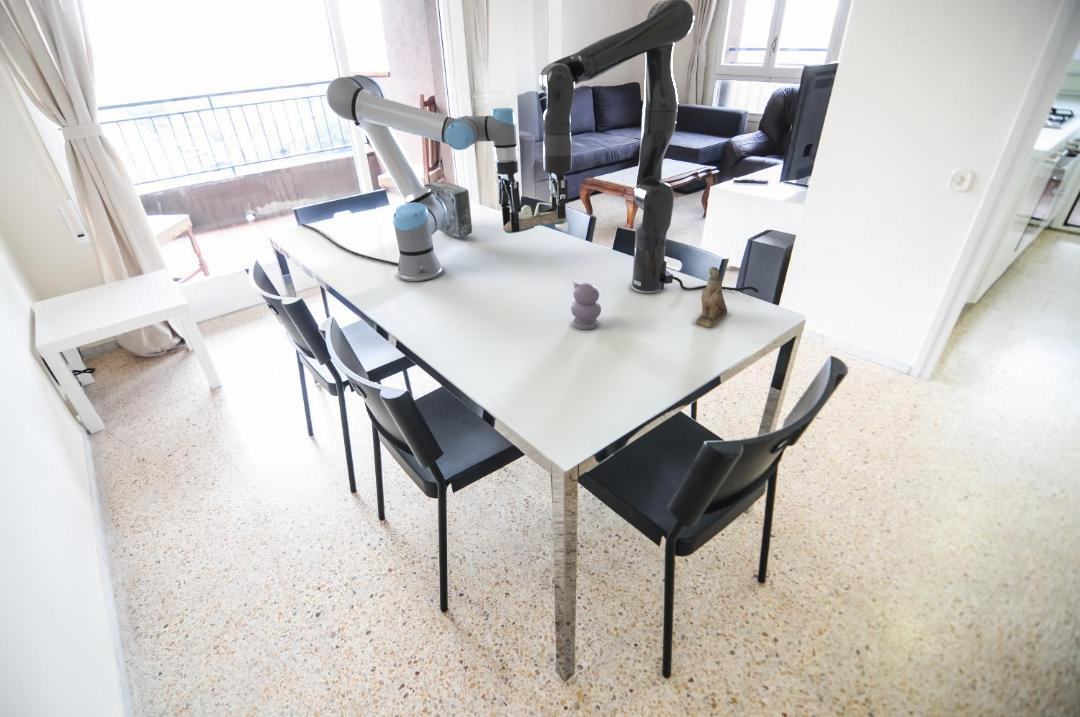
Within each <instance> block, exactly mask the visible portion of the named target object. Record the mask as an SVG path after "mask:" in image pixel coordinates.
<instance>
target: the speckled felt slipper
mask: <svg viewBox="0 0 1080 717" xmlns="http://www.w3.org/2000/svg"><path fill="white" fill-rule="evenodd" d="M540 205H544V206H547V207H549V208H547V209H544V210H541V211H539V206H540ZM567 214H568V213H566V217H565V218H563V219H558V217H557V210H556V211H553V210H552V204H551V203H549V202H548V203H547V202H537V204H536V207H535V209H534V212H533V211H532V208H531V206H530V205H527V204H524V205H523V206H521V212H519V229H520V231H519V232H513V233H512V230H511V220H510V221H509V222H508V223H507V224H506V225H505V226H503V227H502V231H504V233H506V234H516V233H517V234H518V233H522V232H526V231H528V230H532V229H534V228H535V227H538V226H540V227H541V226H555V225H556V226H557V225H564V224H566V221H567V219H568V215H567Z"/></svg>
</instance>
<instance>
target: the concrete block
mask: <svg viewBox="0 0 1080 717" xmlns="http://www.w3.org/2000/svg"><path fill="white" fill-rule="evenodd" d="M423 185H424V187H426V188H429V189H431V191H432V193H433V195H434V196H435V197H437V198H439V199H440V200H441V201H442V202H443V203H444V205H445V207H446V210H447V218H446V221H445V223H444V224H443V226H442V227H441V228H440V229H439V230H438V231H441V232H443V233H444V234H446V235H448V236H449V237H452V238H464V237H465V236H468V235H471V234H472V233H473V223H472V214H471V203H470V193H469V189H467V188H465V187H463V186H460V185H458V184H454V183H452V182H447V181H440V180H439V181H431V182H428V183H427V182H426V183H425V184H423Z"/></svg>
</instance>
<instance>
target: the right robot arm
mask: <svg viewBox="0 0 1080 717" xmlns="http://www.w3.org/2000/svg"><path fill="white" fill-rule="evenodd" d="M694 20H695V13H694V8H693V7H692V5H691V3H690V2H688V1H687V0H660V1H657V2H656V3H654V4H653V5H652V6H651V7H650V9H649V10H648V13H647V15H646V18H645V20H643V21H642V22H640V23H638V24H635V25H634V26H632V27H629V28H626V29H624V30H621V31H618V32H616V33H613V34H611V35H607V36H605V37H604V38H600V39H599V40H597V41H595V42H593V43H590V44H589V45H587V46H585V47H583V48H581V49H580V50H577V52H575V53H572V54H569V55H566V56H565V57H562V58H560V59H557V60H554V61H552V62H550V63H548V64H547V65H545V67H543V69H541V72H540V73H539V77H538V79H539V80H538V84H539V87H540V89H541V90H542V91H543V93H544V94H546V109H545V110H544V111H543V116H542V117H543V118H542V120H543V122H542V123H543V124H542V125H543V126H542V128H543V138H542V139H543V140H542V157H543V158H542V159H543V161H542V162H543V171H544V172H545V173H548V182H549V183H548V186H549V189H548V192H549V196H550V197H551V199H550V201H551V203H550V204H552V206H551V208H552V210H553V211H556V210H557V217H558V219H563V218H565V217H566V214H567V212H566V205H567V204H568V203H569V199H568V198H569V197H568V191H569V190H568V179H567V178H565V173H569V172H571V171H572V169H573V140H572V122H571V121H572V118H571V115H572V114H571V113H572V108H573V102H574V95H575V85H578V84H580V83H583V82H589V81H591V80H594V79H595V78H598V77H600V76H602V75H604V74H606V73H607V72H610V71H611V70H613V69H615V68H617V67H618V66H620V65H622V64H624V63H626V62H628V61H631V60H632V59H634V58H637V57H638V56H640V55H643V54H644V55H645V67H644V68H645V69H644V83H643V99H642V106H641V107H642V110H641V123H640V140H639V141H640V142H639V155H638V156H639V158H638V166H637V171H636V172H637V173H636V178H635V184H634V191H633V198H634V199H633V200H634V202H635V205H636V206H637V207H638V208H639V209H641V210H642V211H643V212H642V220H641V223H639V224H637V225H636V227H635V235H634V236H635V237H634V250H633V251H634V252H633V265H632V266H633V268H632V280H631V289H632V290H633V291H634V292H636V293H639V294H645V295H650V294H657V293H659V292H661V291H662V290H665V285H667V284H673V280H675V281H677V282H678V283H679V286H680V288H681V289H683V290H684V291H697V290H702V289H704V288H705V287H707V284H705V285H699V286H695V287H686V286H684V283H683V281H682V279H680V278H679V277H678V276H677V277H676V276H674V274H673V273H671V272H670V271H669V270H668V269H667V262H668V261H667V260H666V259H665V254H666V245H667V234H668V231H669V228H670V227H671V224H672V218H673V211H674V202H675V194H674V189H673V188H672V186H671V185H670V184H669V183H667V182H664V181H663V179H662V176H663V175H662V173H663V163H664V158H665V154H666V152H667V150H668V148H669V145H670V144H671V142H672V139H673V137H674V134H675V131H676V127H677V125H676V124H677V117H678V116H677V115H678V104H679V102H678V100H679V99H678V93H677V88H676V83H675V80H674V73H673V54H674V46H675V44H676V43H679V42H681V41H683V40H684V39H685V38H686V37H687V36H688V35H689V33H690V32H691V31H692V28H693V25H694ZM561 197H562V198H561ZM721 289H722V290H725V291H733V292H734V291H735V292H740V291H745V290H746V291H747V290H752V291H754V292H755V293H759V292H760V291H759V289H757V288H756V287H755V286H752V285H749V286H748V285H747V286H742V287H731V286H723V285H722V288H721ZM726 289H727V290H726Z"/></svg>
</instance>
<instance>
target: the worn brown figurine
mask: <svg viewBox="0 0 1080 717" xmlns="http://www.w3.org/2000/svg"><path fill="white" fill-rule="evenodd" d="M708 273H709V275H710V276H709V278H708V279H707V280H708V281H707V284H706V285H707V287H705V288H702V289H703V290H702V292H701V297H700V298H701V309H702V312H701V315H700V316H699V317H698V318H697V319H696V321H695V324H696V325H699V326H703V327H705V328H712V327H714V326H715V325H716V324H717V323H719V321H721V320H722V319H723V318H725V317H726V316H727V315H728V307H727V304H726V301H725V298H724V293H723V289H721V288H722V286H723V281H722V279H721V278H720V270H719V269H718V268H717V267H715V266H712V267H711V268H710V269H709V270H708Z"/></svg>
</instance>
